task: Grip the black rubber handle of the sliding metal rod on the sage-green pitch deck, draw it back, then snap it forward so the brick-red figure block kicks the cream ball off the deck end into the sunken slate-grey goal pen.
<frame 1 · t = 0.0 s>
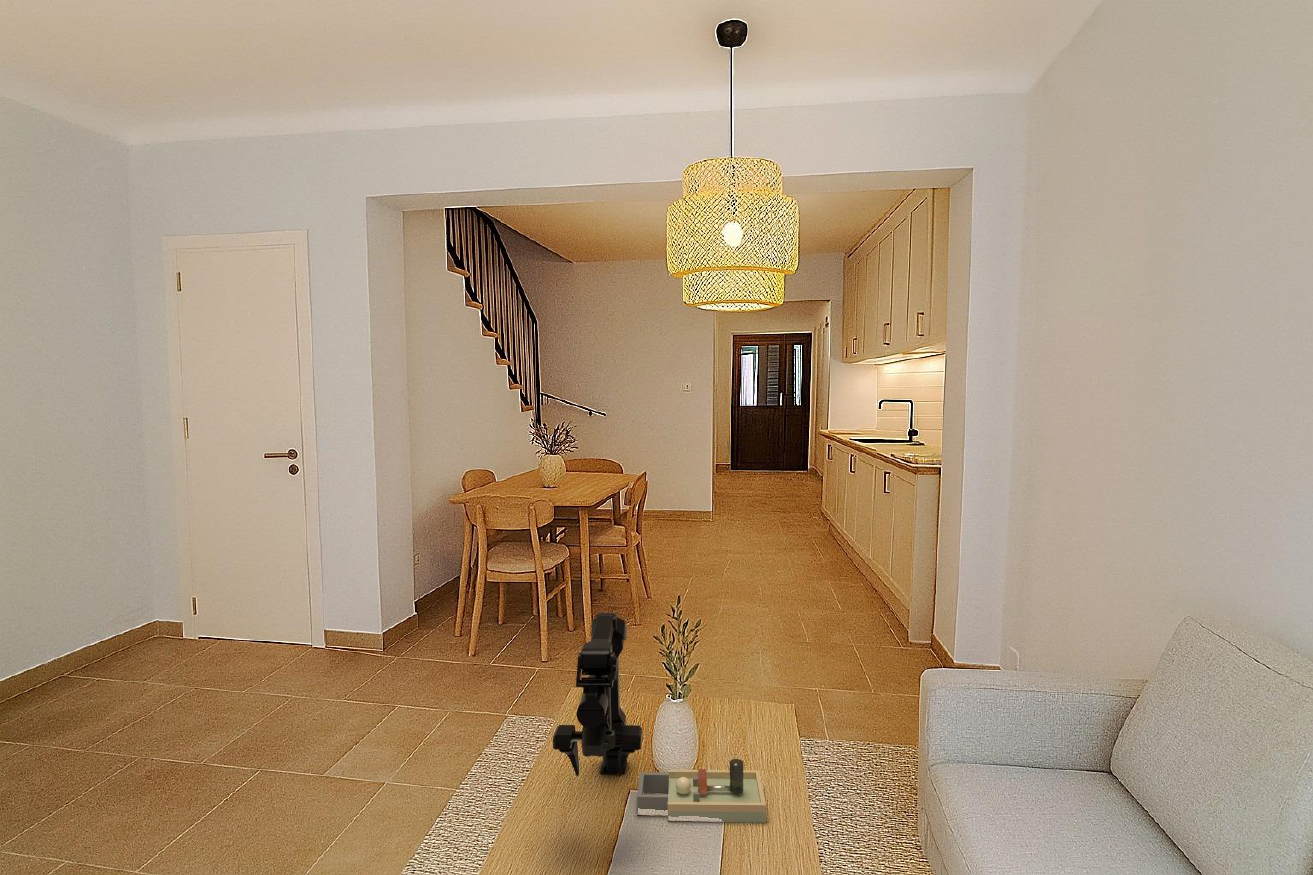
hand: (599, 775, 148), 14 cm above the table, fingers open, 9 cm apart
ball: (683, 785, 161), point 4 cm above the table, touching pitch
pitch: (715, 803, 161), on the table
kicker: (720, 776, 160), point 7 cm above the table, slide at 1.5 cm
goal: (655, 802, 162), on the table
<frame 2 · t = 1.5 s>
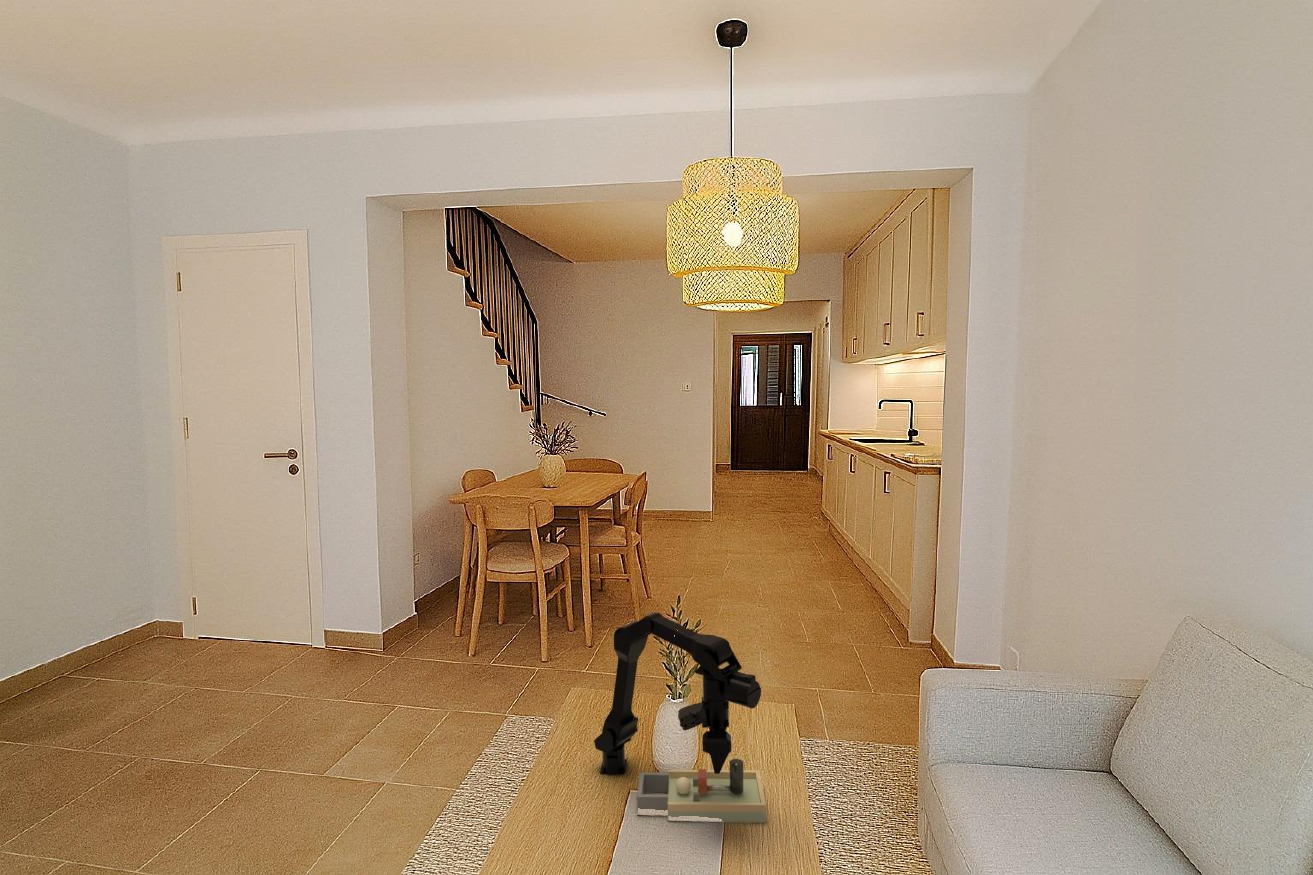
hand: (716, 761, 156), 12 cm above the table, fingers open, 9 cm apart
nothing on the table moved.
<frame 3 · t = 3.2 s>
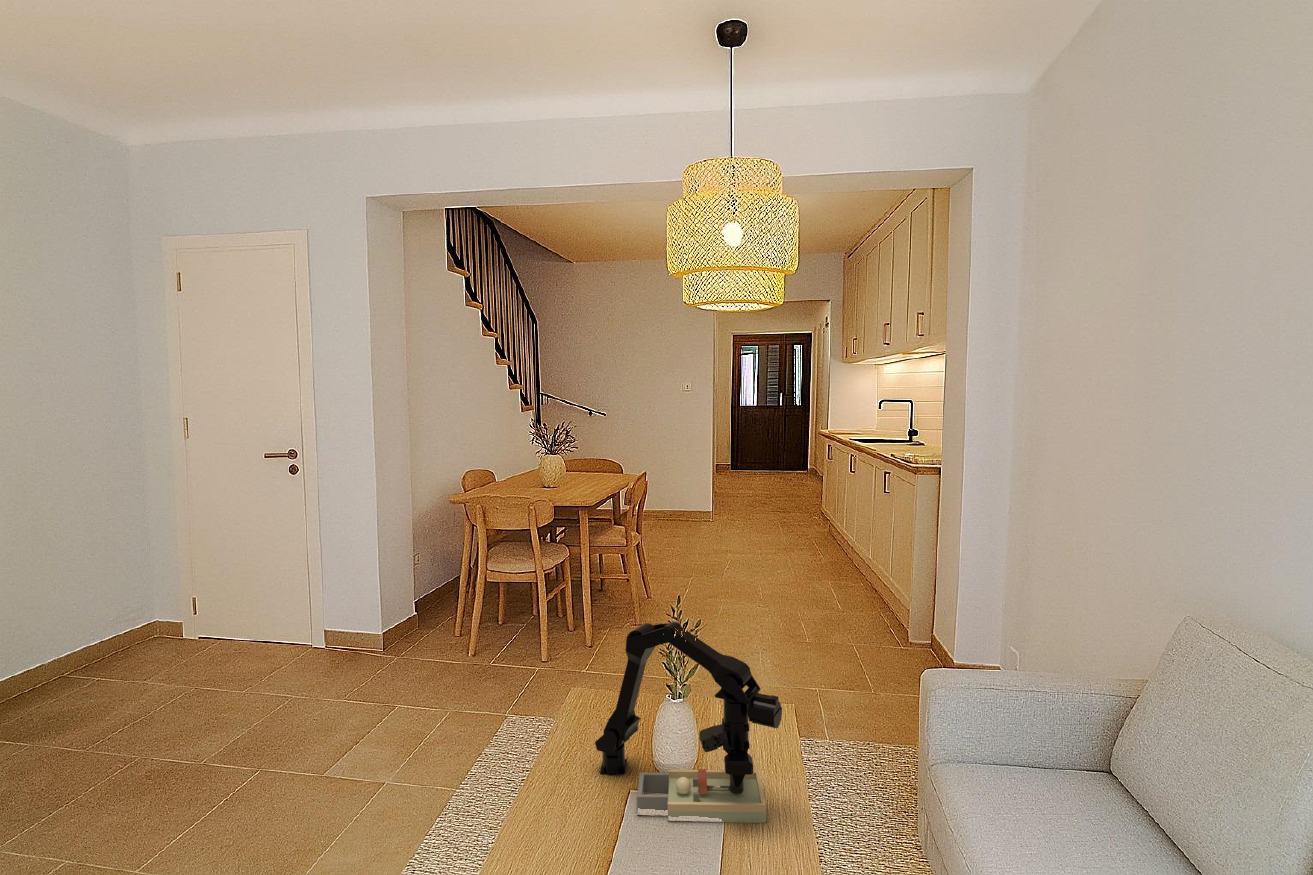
hand: (736, 782, 160), 5 cm above the table, fingers closed on kicker, 3 cm apart
kicker: (720, 776, 160), point 7 cm above the table, slide at 1.5 cm, touching gripper
everything else where it was.
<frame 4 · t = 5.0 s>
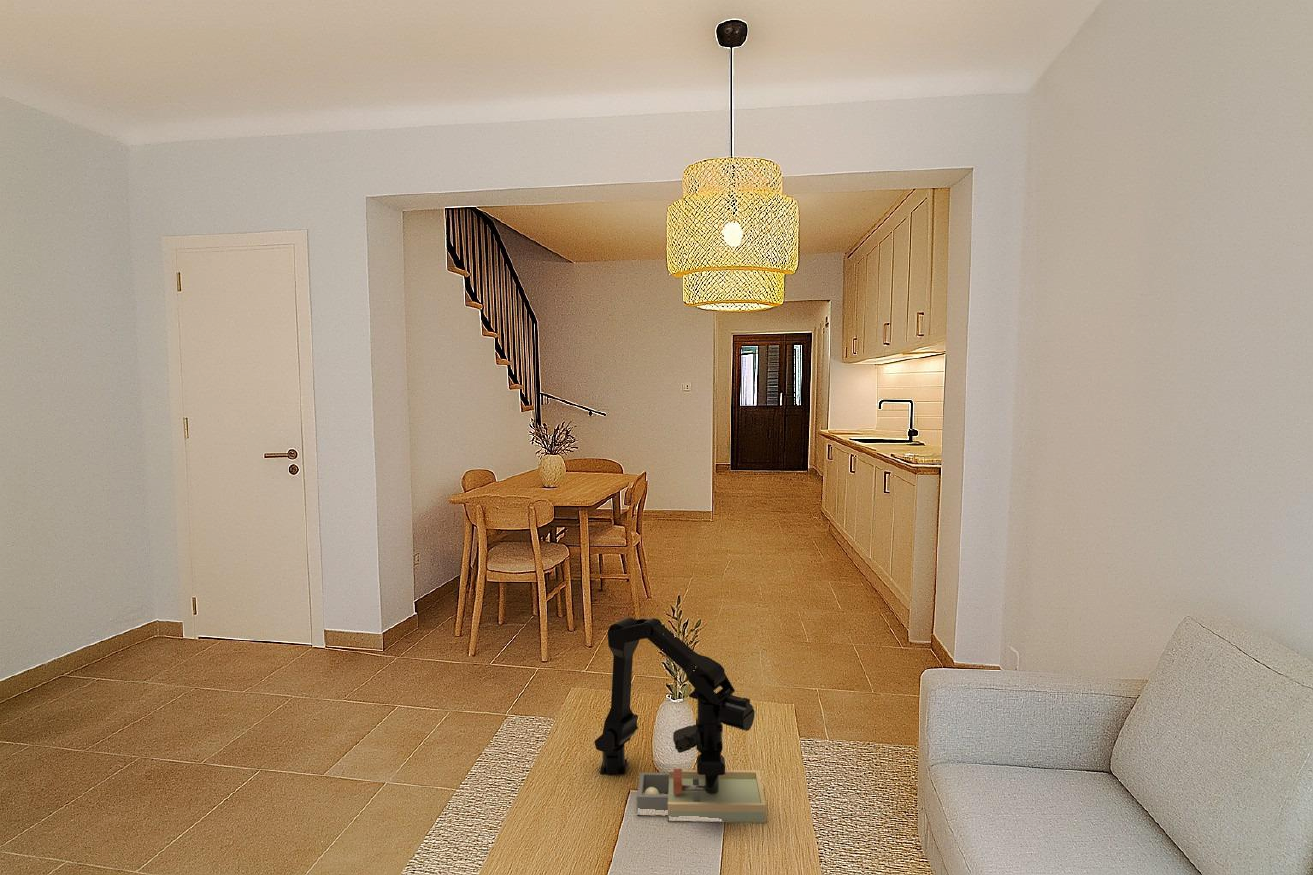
hand: (710, 782, 161), 5 cm above the table, fingers closed on kicker, 3 cm apart
ball: (651, 795, 161), point 2 cm above the table, tilted 107°
kicker: (696, 776, 161), point 7 cm above the table, slide at 7.3 cm, touching gripper
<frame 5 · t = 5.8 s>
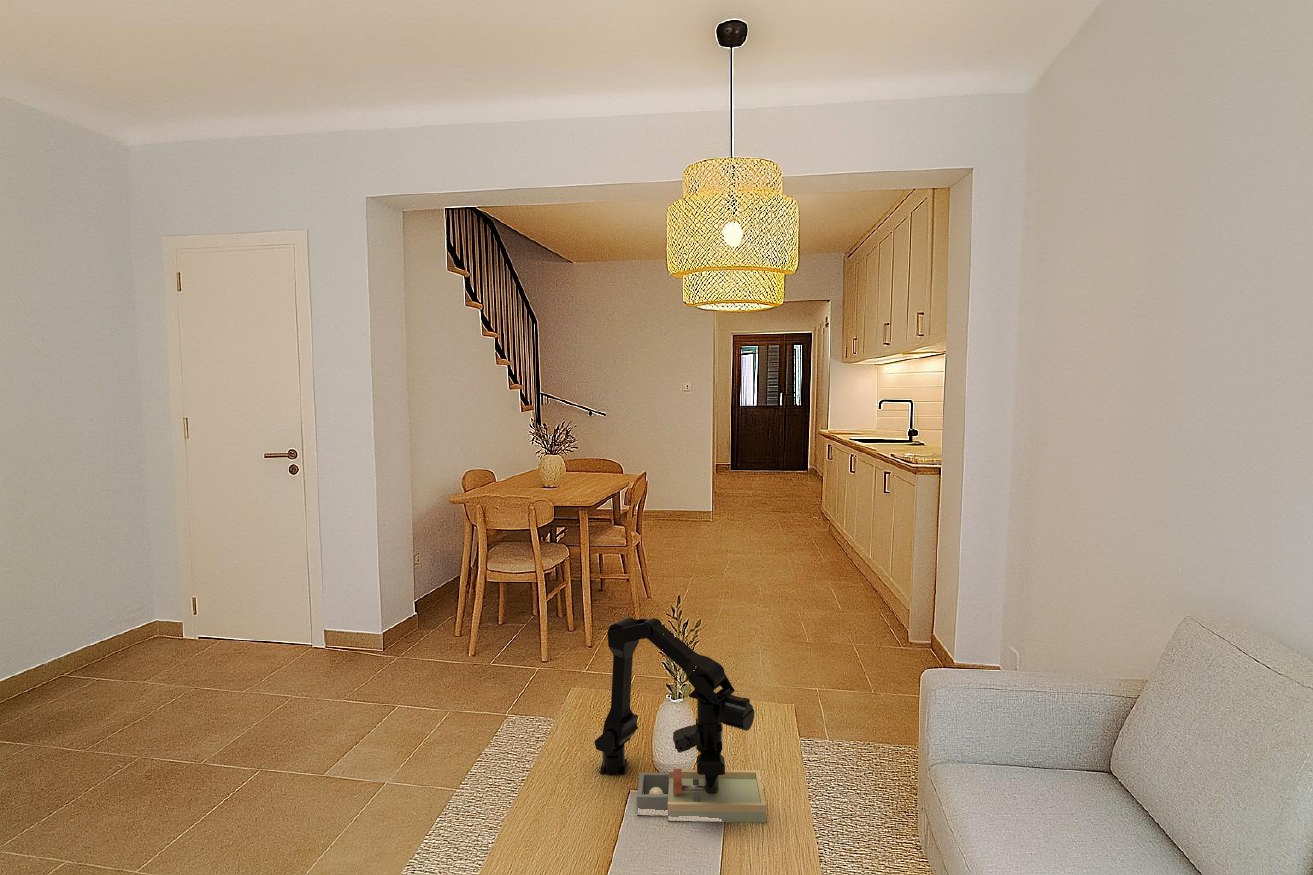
hand: (709, 782, 161), 5 cm above the table, fingers closed on kicker, 3 cm apart
ball: (655, 795, 161), point 2 cm above the table, tilted 140°
kicker: (695, 776, 161), point 7 cm above the table, slide at 7.3 cm, touching gripper
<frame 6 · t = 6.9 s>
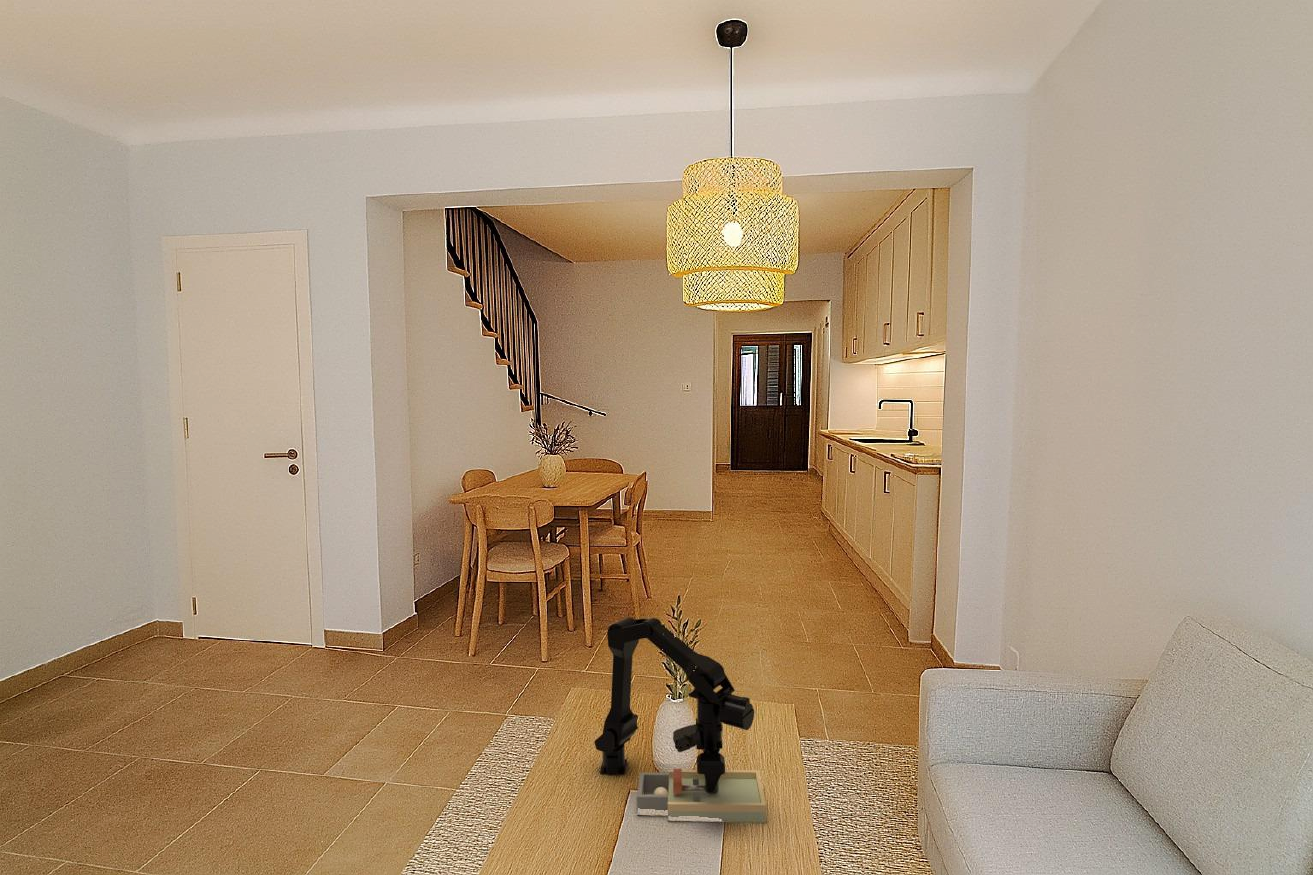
hand: (710, 782, 161), 5 cm above the table, fingers open, 7 cm apart
ball: (660, 795, 161), point 2 cm above the table, tilted 177°
kicker: (695, 776, 161), point 7 cm above the table, slide at 7.3 cm
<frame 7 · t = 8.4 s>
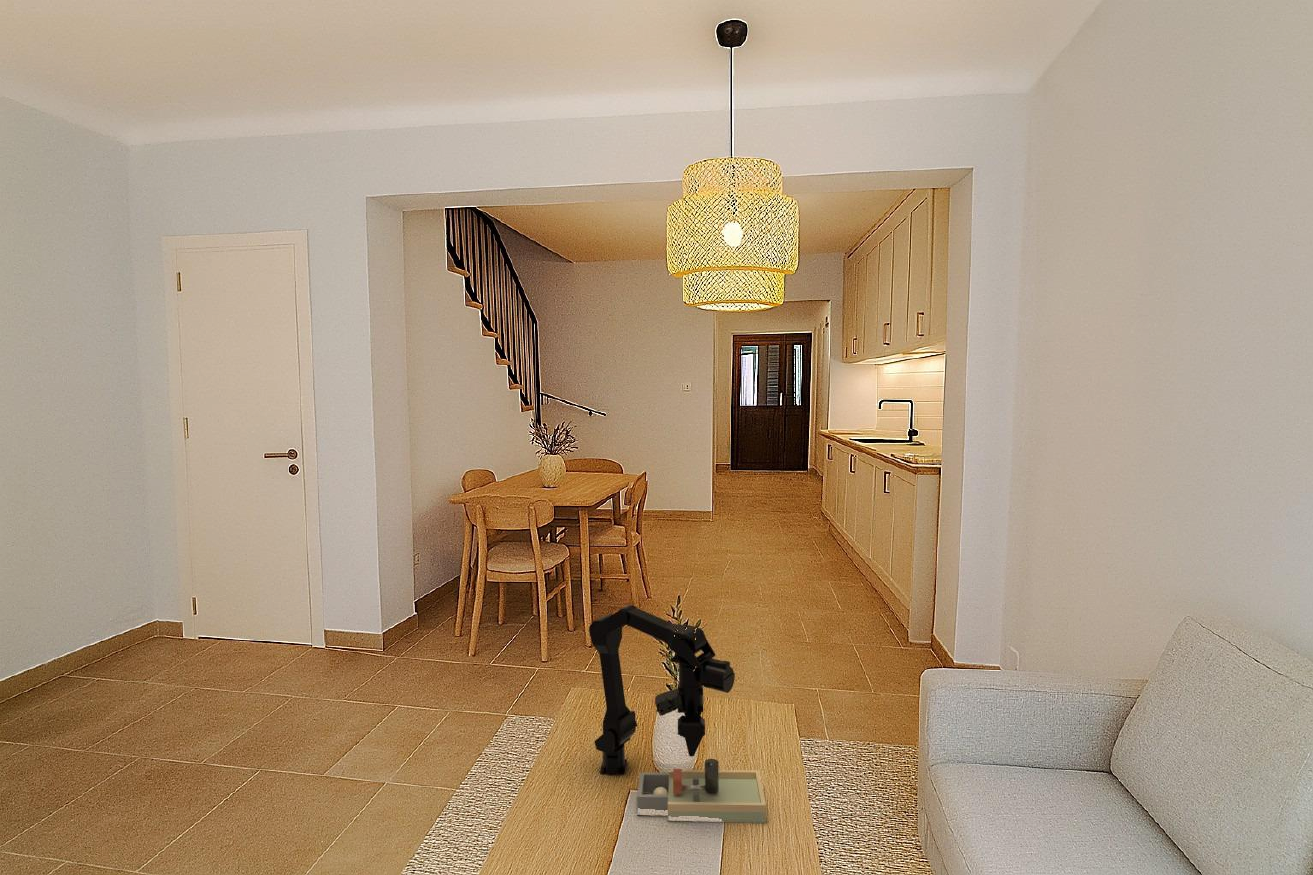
hand: (691, 745, 163), 12 cm above the table, fingers open, 9 cm apart
nothing on the table moved.
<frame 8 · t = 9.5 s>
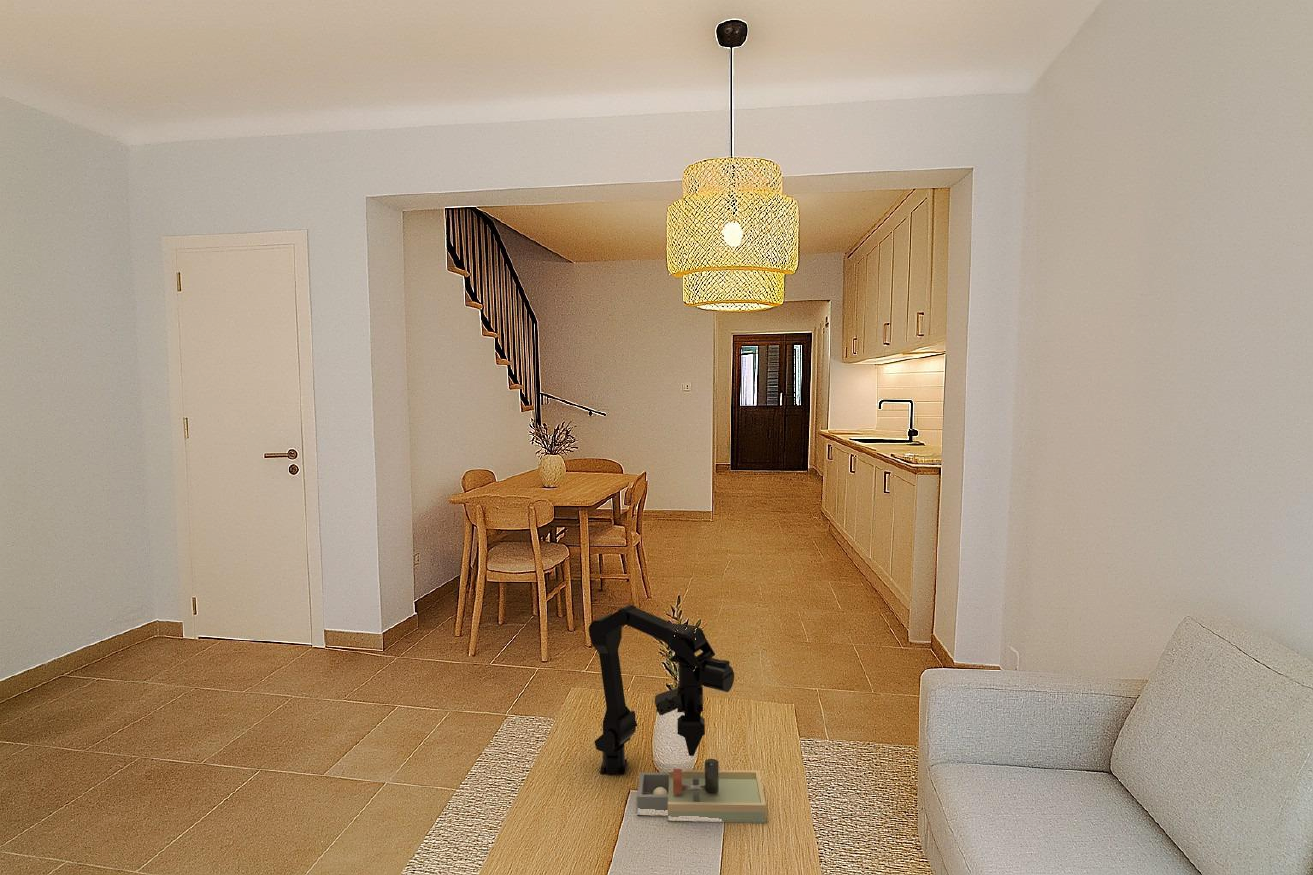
hand: (691, 745, 163), 13 cm above the table, fingers open, 9 cm apart
nothing on the table moved.
at the end: ball inside the target area on the goal (1.1 cm from its centre), point 1.8 cm above the goal's base; kicker slide at 7.3 cm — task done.
